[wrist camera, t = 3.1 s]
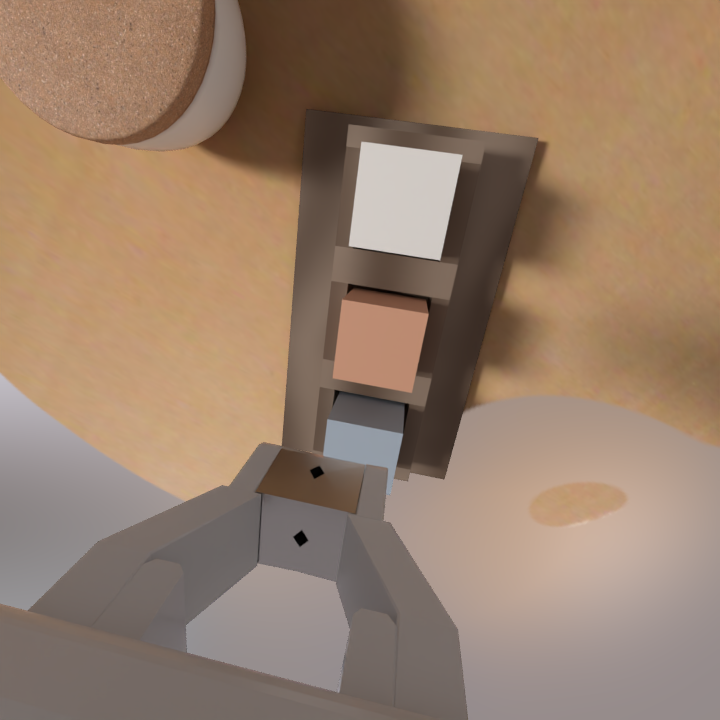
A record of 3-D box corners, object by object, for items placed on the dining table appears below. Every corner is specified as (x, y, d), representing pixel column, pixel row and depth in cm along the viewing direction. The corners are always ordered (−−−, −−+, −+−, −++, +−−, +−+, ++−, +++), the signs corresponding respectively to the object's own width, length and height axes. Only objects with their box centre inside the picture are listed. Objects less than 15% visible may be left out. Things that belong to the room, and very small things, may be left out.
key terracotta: (425, 299, 21) (428, 313, 18) (411, 366, 23) (411, 392, 19) (354, 287, 22) (342, 299, 18) (345, 354, 23) (332, 378, 20)
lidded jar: (206, 206, 24) (86, 192, 15) (74, 73, 22) (-148, -30, 13) (313, 59, 20) (238, -72, 11) (164, -112, 19) (-56, -418, 10)
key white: (452, 169, 19) (462, 154, 15) (435, 254, 21) (440, 260, 17) (371, 158, 19) (361, 141, 16) (360, 243, 21) (348, 246, 17)
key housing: (535, 140, 20) (554, 126, 17) (443, 474, 28) (447, 501, 25) (309, 112, 21) (293, 94, 18) (284, 442, 29) (270, 464, 26)
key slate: (404, 402, 24) (403, 433, 20) (393, 456, 26) (390, 495, 22) (340, 390, 24) (327, 419, 21) (333, 444, 26) (319, 480, 22)
